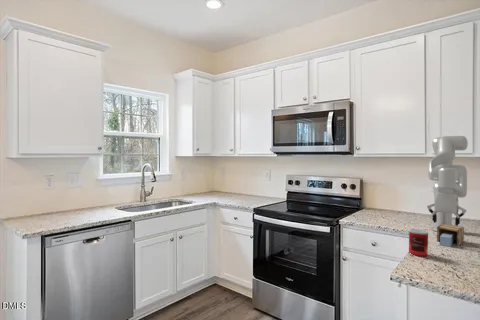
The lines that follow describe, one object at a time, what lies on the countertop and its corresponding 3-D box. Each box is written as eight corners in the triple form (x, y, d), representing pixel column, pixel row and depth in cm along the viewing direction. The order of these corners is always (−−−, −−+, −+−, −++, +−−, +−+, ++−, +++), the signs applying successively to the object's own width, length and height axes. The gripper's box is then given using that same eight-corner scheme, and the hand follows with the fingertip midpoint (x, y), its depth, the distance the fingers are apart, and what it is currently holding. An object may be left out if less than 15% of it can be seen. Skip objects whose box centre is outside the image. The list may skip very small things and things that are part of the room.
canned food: (420, 251, 145) (421, 229, 145) (431, 257, 137) (432, 233, 137) (404, 251, 145) (405, 228, 144) (415, 257, 137) (415, 233, 136)
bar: (443, 241, 166) (443, 232, 166) (453, 243, 163) (453, 233, 163) (439, 245, 157) (440, 236, 157) (450, 247, 154) (450, 237, 154)
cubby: (442, 237, 173) (442, 224, 173) (463, 241, 166) (463, 227, 166) (436, 241, 165) (437, 226, 165) (458, 245, 158) (459, 230, 158)
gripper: (468, 192, 154) (467, 225, 153) (429, 189, 166) (428, 220, 166) (465, 193, 149) (464, 227, 148) (425, 190, 161) (424, 221, 161)
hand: (445, 223), depth 157 cm, fingers open, 9 cm apart
